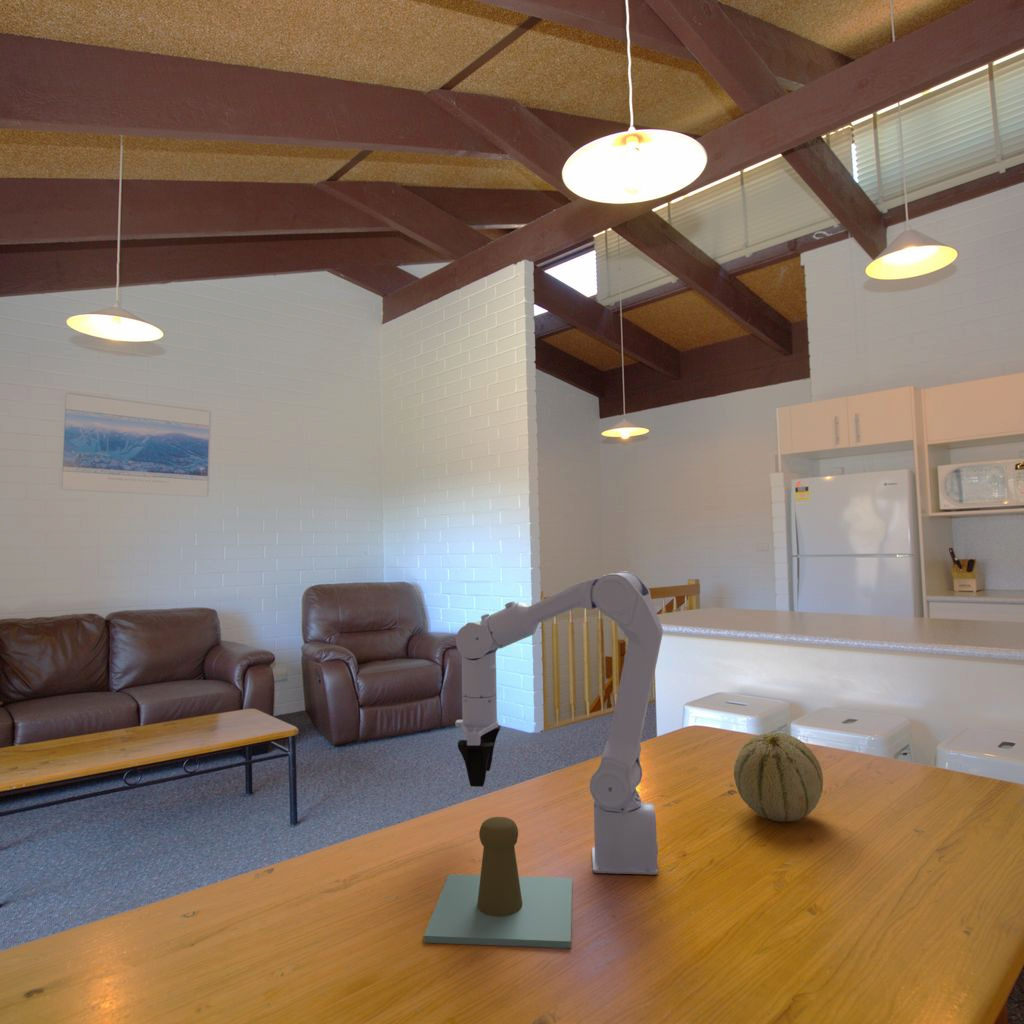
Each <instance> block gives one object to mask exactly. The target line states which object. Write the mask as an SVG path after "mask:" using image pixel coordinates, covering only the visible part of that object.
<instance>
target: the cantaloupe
mask: <svg viewBox="0 0 1024 1024" xmlns="http://www.w3.org/2000/svg"><path fill="white" fill-rule="evenodd" d="M733 778H734V783H735V786H736V788H737V792H738V794H739V796H740V798H741V799H742V801H743V802H744V803H745V804H746V806H747V807H748V808H750V809H751V810H752V812H754V813H756V814H757V815H759V816H760V817H762V818H765V819H768V820H771V821H773V822H781V823H782V822H794V821H798V820H800V819H802V818H803V817H807V816H808V815H810V813H811V812H812V811H813V810H815V808H816V807H817V805H818V803H819V802H820V800H821V797H822V793H823V790H824V789H823V788H824V776H823V771H822V766H821V763H820V761H819V759H818V758H817V757H816V755H815V754H814V752H813V751H812V750H811V749H810V748H809V747H808V746H807V745H806V744H805V743H804V742H803V741H802V740H800V739H799V738H797V737H796V736H792V735H791V734H788V733H780V732H767V733H761V734H758V735H755V736H753V737H752V738H750V739H749V740H748V741H747V742H746V743H745V744H743V746H742V747H741V748H740V750H739V752H738V755H737V757H736V759H735V762H734V767H733Z"/></svg>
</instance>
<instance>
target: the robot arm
mask: <svg viewBox="0 0 1024 1024" xmlns="http://www.w3.org/2000/svg"><path fill="white" fill-rule="evenodd" d="M504 607H505V608H504V609H501V610H498V611H497V612H494V613H492V614H489V613H485V614H483V615H481V616H480V620H479V621H474V622H467V623H466V624H465V625H463V626H462V627H461V628H460V629H459V630H458V631H457V633H456V637H455V646H456V649H457V650H458V652H459V653H460V654H461V693H462V694H461V696H462V697H461V699H462V701H461V703H462V704H461V706H462V708H461V709H462V711H461V712H462V713H461V714H462V716H461V717H462V719H456V720H455V724H454V725H455V727H457V728H462V730H463V731H464V733H466V739H462V740H461V739H459V740H458V742H457V749H458V751H459V752H460V754H461V756H462V759H463V761H464V764H465V768H466V769H465V770H466V773H467V778H468V783H469V785H470V787H474V788H475V787H476V788H477V787H479V788H481V787H484V785H485V782H486V775H487V772H490V770H491V766H492V763H493V762H492V761H493V755H494V749H495V744H496V741H497V737H498V734H499V732H500V730H501V725H499V720H498V711H497V709H498V707H497V705H498V704H497V703H498V701H497V700H498V699H497V695H498V694H497V659H496V658H497V657H496V656H497V650H498V649H504V648H506V647H508V646H510V645H512V644H515V643H517V642H520V641H522V640H524V639H527V638H528V637H529V638H530V637H531V636H534V635H535V633H536V631H537V628H538V626H539V624H540V623H542V622H545V621H547V620H550V619H552V618H556V617H557V616H559V615H562V614H563V615H564V614H565V613H567V612H569V611H572V610H575V609H577V608H583V609H587V610H595V609H598V610H599V611H600V612H601V613H603V615H605V616H606V617H607V618H609V619H611V620H612V621H613V622H615V623H616V624H617V625H618V627H619V628H620V630H621V631H622V632H623V634H624V635H625V636H626V637H627V640H628V641H627V645H626V651H625V654H624V655H625V656H624V659H623V664H622V665H623V666H622V671H621V676H620V680H619V685H618V691H617V694H616V695H617V696H616V701H615V703H614V708H613V709H614V711H613V715H612V719H611V724H610V728H609V729H610V730H609V733H608V734H609V735H608V738H607V742H606V744H605V746H604V750H603V752H602V756H601V760H600V764H599V766H598V768H597V769H596V770H595V771H594V772H593V774H592V775H591V778H590V780H589V791H590V794H591V797H592V799H593V826H594V827H593V829H594V833H593V834H594V835H593V836H594V837H593V839H594V846H592V847H591V858H592V859H591V860H592V864H591V865H592V872H593V873H595V874H616V875H617V874H619V875H621V874H623V875H654V876H655V875H658V874H659V870H658V855H659V846H658V841H657V839H658V838H657V820H656V819H657V818H656V810H655V809H656V808H655V806H654V803H650V802H643V801H642V798H641V797H640V794H639V792H638V790H637V787H638V786H639V785H640V783H641V781H642V778H643V768H642V764H641V761H640V757H641V753H642V748H641V747H642V746H641V741H642V735H643V731H644V726H645V721H646V715H647V711H648V706H649V703H650V702H649V701H650V697H651V692H652V688H653V684H654V683H653V682H654V677H655V672H656V668H657V662H658V657H659V653H660V647H661V643H662V639H663V638H662V637H663V626H662V623H661V621H660V618H659V616H658V613H657V611H656V608H655V604H654V603H653V600H652V595H651V591H650V588H648V586H646V584H645V583H644V582H643V580H642V579H641V578H640V577H638V575H637V574H634V573H632V572H630V571H619V572H616V573H608V574H604V575H603V576H601V577H596V578H592V579H589V580H584V581H581V582H577V583H575V584H573V585H570V586H569V587H567V588H564V589H562V590H561V591H559V592H556V593H555V594H553V595H550V596H549V597H547V598H544V599H542V600H540V601H537V602H536V603H534V604H532V605H530V604H527V603H524V602H522V601H518V602H515V601H509V602H507V603H505V605H504Z"/></svg>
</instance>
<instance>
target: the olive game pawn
mask: <svg viewBox="0 0 1024 1024" xmlns="http://www.w3.org/2000/svg"><path fill="white" fill-rule="evenodd" d="M478 834H479V840H480V843H481V845H482V846H483V849H482V858H481V867H480V868H481V869H480V875H481V876H480V885H479V894H478V903H477V907H478V909H479V910H480V911H481V912H482V913H484V914H486V915H490V916H499V917H502V916H508V915H511V914H514V913H516V912H518V911H519V910H520V909H521V908H522V897H521V890H520V883H519V876H520V875H519V869H518V863H517V856H516V849H515V848H516V847H515V845H516V844H517V843H518V842H517V841H518V837H519V829H518V826H517V824H516V822H515V821H514V820H513V819H511V818H509V817H506V816H494V817H490V818H489V817H488V819H485V820H484V821H483V822H482V823H481V825H480V828H479V833H478Z"/></svg>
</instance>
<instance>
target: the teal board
mask: <svg viewBox="0 0 1024 1024" xmlns="http://www.w3.org/2000/svg"><path fill="white" fill-rule="evenodd" d="M480 876H481V874H456V873H455V874H453V873H452V874H451V873H449V874H448V875H447V877H446V880H445V882H444V884H443V887H442V889H441V892H440V895H439V897H438V898H437V899H438V900H437V902H436V905H435V907H434V910H433V912H432V915H431V917H430V919H429V922H428V925H427V928H426V930H425V932H424V935H423V943H427V944H431V943H432V944H451V945H452V944H453V945H455V944H456V945H457V944H458V945H479V946H480V945H482V946H483V945H484V946H500V947H501V946H504V947H506V946H508V947H509V946H510V947H527V948H528V947H531V948H551V949H552V948H553V949H554V948H556V949H571V948H572V919H573V918H572V915H573V913H572V912H573V908H572V907H573V878H572V877H556V876H555V877H553V876H552V877H551V876H550V877H549V876H522V875H521V876H520V875H519V883H520V890H521V897H522V908H521V909H520V910H519V911H518V912H516V913H514V914H511V915H508V916H502V917H499V916H490V915H486V914H484V913H482V912H481V911H480V910H479V909H478V907H477V903H478V894H479V885H480Z"/></svg>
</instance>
